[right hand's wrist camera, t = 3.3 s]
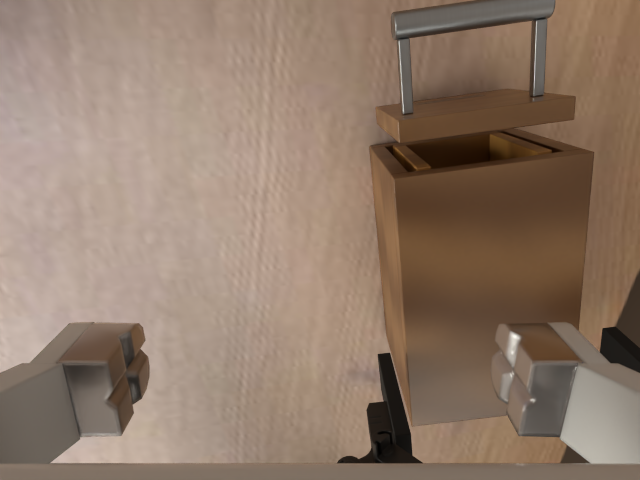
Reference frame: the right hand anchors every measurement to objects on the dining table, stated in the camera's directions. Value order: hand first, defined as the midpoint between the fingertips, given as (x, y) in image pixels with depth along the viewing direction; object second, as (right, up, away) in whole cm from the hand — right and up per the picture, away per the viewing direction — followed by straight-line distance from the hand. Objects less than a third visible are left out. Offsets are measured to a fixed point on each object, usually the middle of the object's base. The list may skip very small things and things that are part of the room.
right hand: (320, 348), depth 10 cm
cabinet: (+10, +2, +26) cm, 28 cm away
